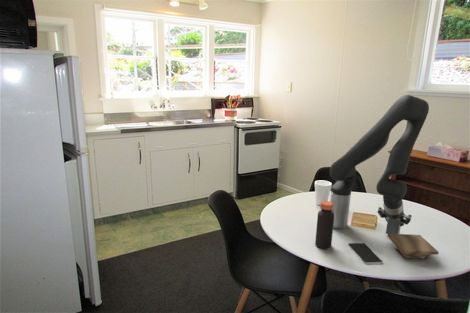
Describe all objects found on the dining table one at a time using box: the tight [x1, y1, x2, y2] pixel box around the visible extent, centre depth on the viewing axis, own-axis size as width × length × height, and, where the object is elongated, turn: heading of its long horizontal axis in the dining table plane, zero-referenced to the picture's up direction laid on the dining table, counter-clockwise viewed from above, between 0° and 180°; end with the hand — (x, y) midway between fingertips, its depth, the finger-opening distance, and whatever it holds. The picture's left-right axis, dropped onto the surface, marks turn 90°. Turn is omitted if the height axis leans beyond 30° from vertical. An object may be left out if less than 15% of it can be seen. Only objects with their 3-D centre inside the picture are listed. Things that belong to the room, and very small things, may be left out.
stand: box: [386, 233, 440, 259], centre depth 130 cm, size 14×14×5 cm
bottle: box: [314, 200, 334, 250], centre depth 133 cm, size 7×7×20 cm
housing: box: [385, 218, 402, 235], centre depth 143 cm, size 5×5×10 cm
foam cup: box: [314, 179, 333, 207], centre depth 180 cm, size 10×9×13 cm
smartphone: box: [347, 242, 383, 265], centre depth 129 cm, size 8×1×15 cm
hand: (394, 222), depth 144 cm, fingers closed on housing, 5 cm apart
